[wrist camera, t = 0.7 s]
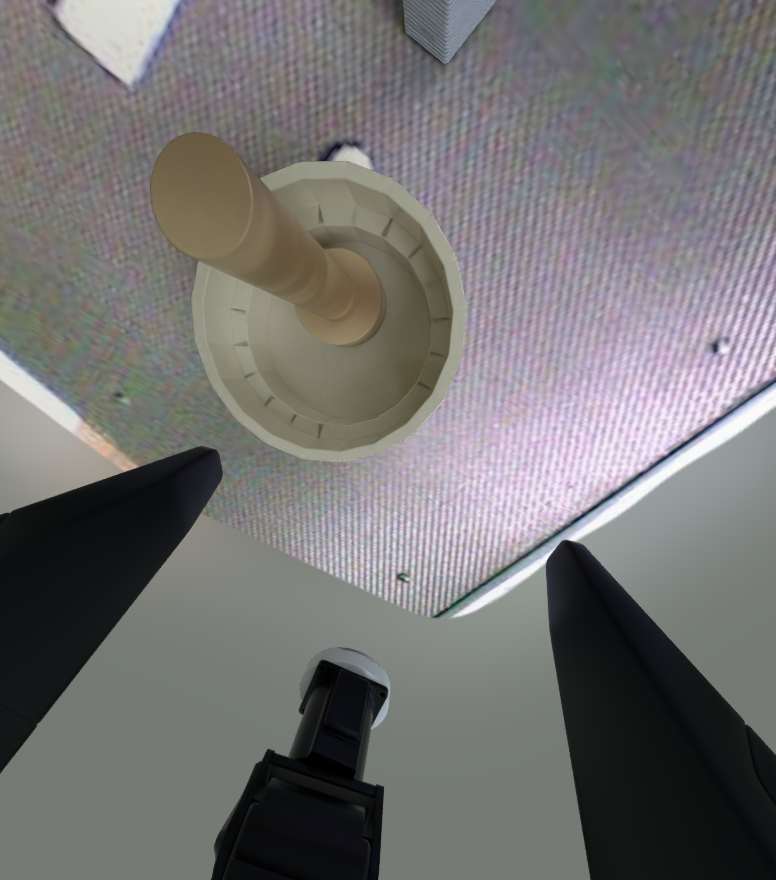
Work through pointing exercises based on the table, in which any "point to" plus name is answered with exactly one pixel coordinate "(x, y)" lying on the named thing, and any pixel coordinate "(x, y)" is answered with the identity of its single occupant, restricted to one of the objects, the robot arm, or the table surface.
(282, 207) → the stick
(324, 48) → the table surface
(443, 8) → the padlock
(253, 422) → the bowl
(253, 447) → the table surface
